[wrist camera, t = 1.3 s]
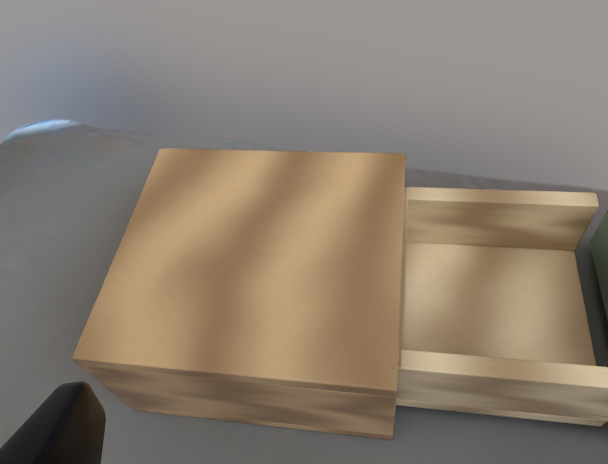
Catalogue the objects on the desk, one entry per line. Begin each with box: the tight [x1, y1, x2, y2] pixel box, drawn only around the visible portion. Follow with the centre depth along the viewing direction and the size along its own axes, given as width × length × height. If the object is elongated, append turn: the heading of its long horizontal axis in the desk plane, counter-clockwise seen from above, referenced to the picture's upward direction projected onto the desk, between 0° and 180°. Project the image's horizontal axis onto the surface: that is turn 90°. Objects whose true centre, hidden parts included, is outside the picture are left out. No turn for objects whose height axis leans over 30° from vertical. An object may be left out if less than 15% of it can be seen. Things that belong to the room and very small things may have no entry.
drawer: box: [396, 187, 608, 426], centre depth 22 cm, size 13×10×5 cm
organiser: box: [72, 149, 406, 440], centre depth 25 cm, size 12×11×6 cm
